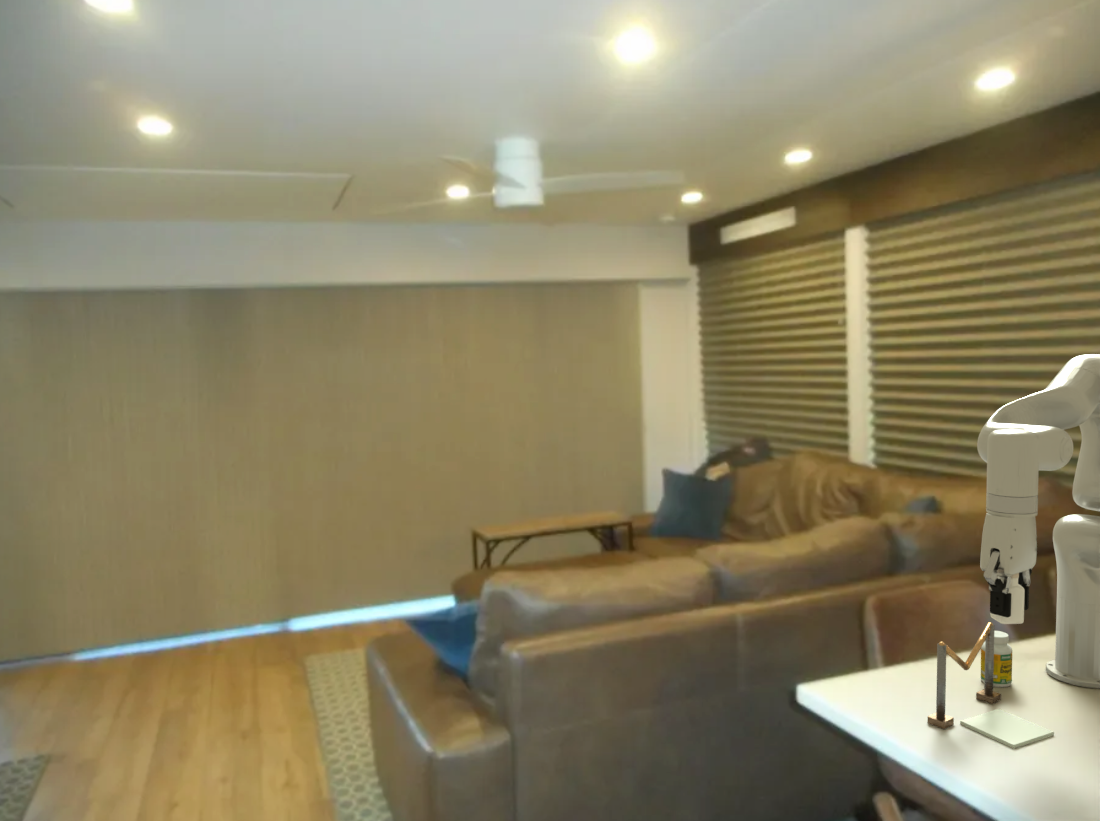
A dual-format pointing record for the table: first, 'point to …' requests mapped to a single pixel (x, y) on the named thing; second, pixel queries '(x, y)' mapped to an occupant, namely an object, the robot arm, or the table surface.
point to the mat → (1007, 728)
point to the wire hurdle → (984, 695)
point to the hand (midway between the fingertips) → (1009, 610)
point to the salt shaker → (1013, 602)
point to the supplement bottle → (999, 660)
